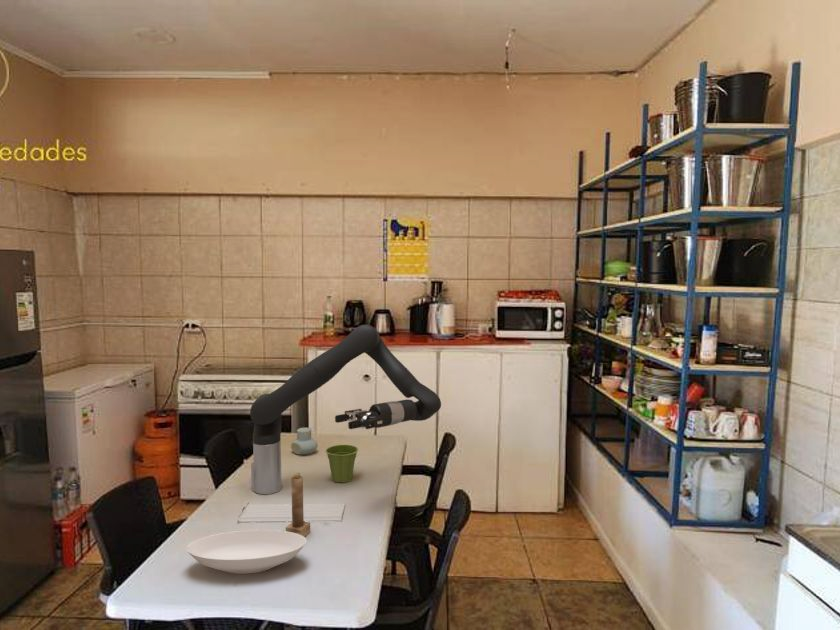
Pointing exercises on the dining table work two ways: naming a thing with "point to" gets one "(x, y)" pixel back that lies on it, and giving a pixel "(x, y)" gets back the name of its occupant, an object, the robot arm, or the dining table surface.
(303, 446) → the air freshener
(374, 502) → the dining table surface
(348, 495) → the dining table surface
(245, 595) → the dining table surface
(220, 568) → the bowl
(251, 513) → the baseboard molding
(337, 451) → the plant pot
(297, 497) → the brown peg on stand
